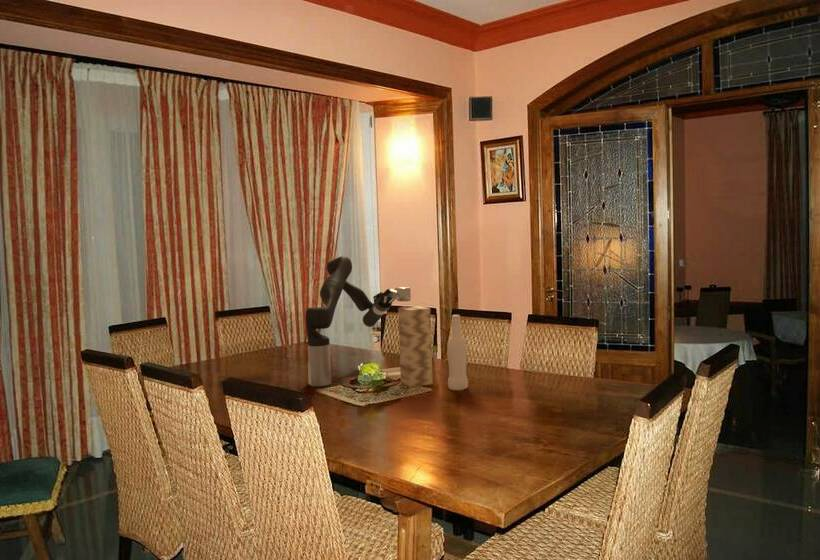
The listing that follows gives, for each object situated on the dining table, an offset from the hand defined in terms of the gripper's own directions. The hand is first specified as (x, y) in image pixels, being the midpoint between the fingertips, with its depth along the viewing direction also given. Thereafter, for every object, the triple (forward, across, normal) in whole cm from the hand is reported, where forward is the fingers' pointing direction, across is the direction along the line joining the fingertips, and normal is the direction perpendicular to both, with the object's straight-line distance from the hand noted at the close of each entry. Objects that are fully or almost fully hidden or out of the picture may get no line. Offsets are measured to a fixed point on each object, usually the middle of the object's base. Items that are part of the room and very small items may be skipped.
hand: (392, 290), depth 294 cm
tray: (-9, -3, +38) cm, 39 cm away
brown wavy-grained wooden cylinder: (+5, 0, +45) cm, 45 cm away
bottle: (+20, +11, +53) cm, 58 cm away
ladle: (+4, 0, +5) cm, 6 cm away
